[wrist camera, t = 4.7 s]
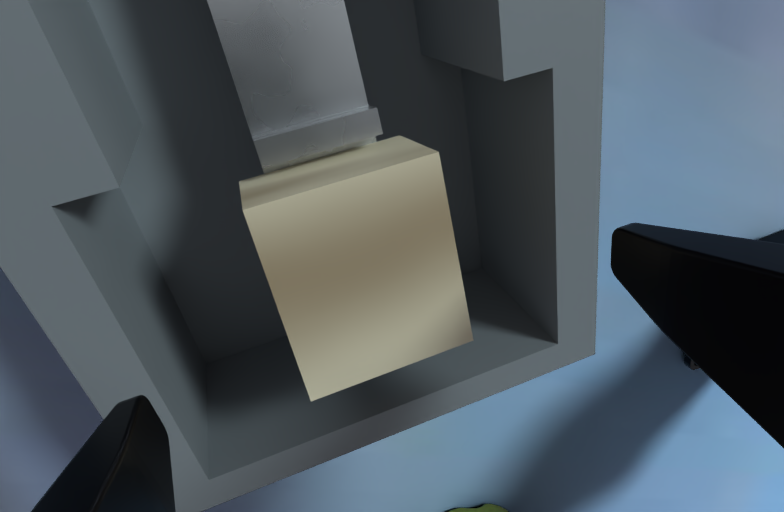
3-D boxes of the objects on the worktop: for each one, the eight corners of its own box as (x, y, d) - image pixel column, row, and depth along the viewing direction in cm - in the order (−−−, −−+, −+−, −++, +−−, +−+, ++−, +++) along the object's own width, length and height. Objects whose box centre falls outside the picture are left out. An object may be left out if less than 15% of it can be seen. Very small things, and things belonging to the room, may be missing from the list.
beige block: (433, 295, 15) (473, 340, 12) (296, 344, 14) (311, 401, 12) (399, 135, 13) (438, 151, 10) (238, 181, 12) (242, 209, 10)
